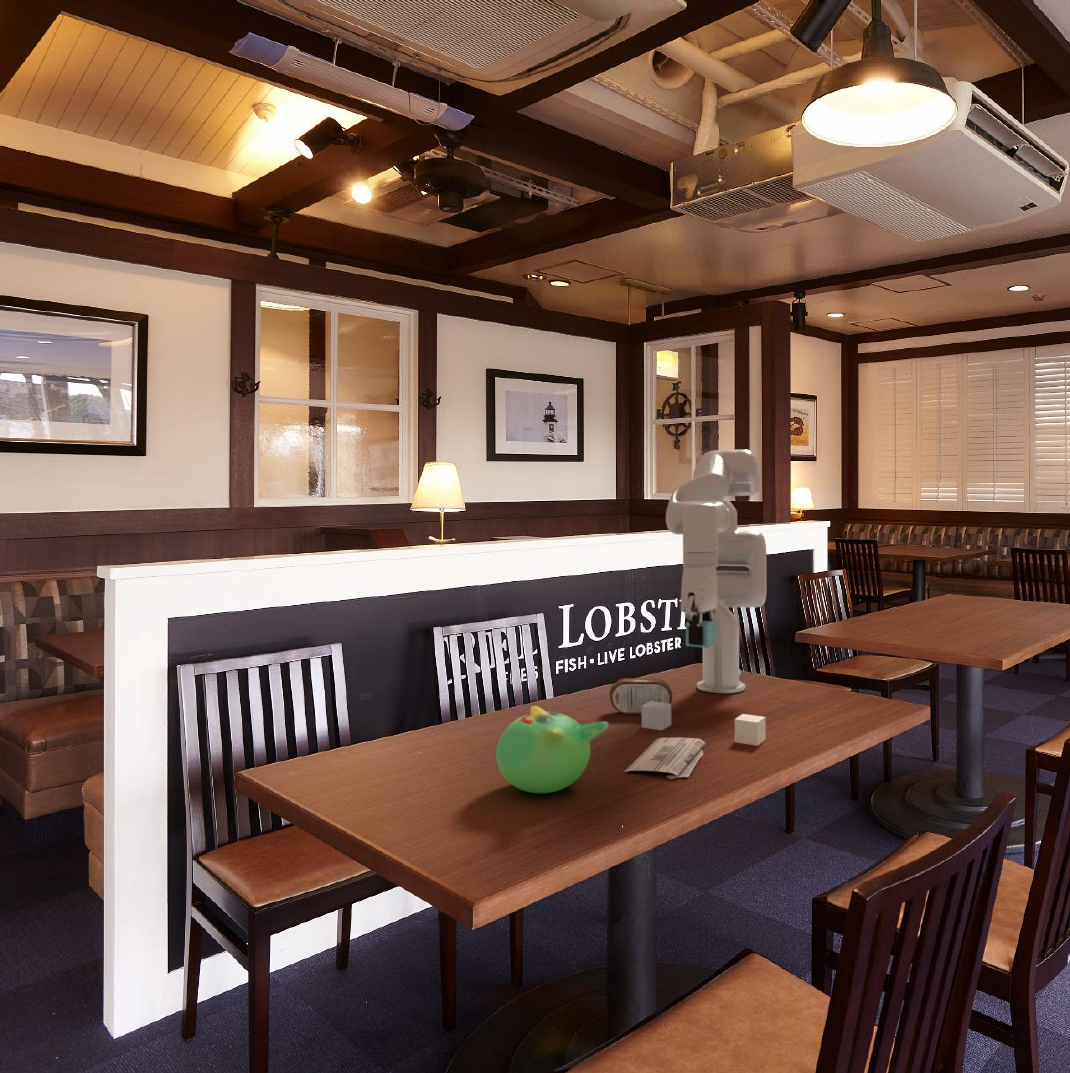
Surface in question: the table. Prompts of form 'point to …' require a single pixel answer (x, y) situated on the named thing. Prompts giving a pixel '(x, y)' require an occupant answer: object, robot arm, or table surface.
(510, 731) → the toy bird
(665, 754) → the newspaper
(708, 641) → the teal block
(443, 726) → the table surface
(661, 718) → the grey block
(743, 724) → the cream block
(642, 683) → the tin
